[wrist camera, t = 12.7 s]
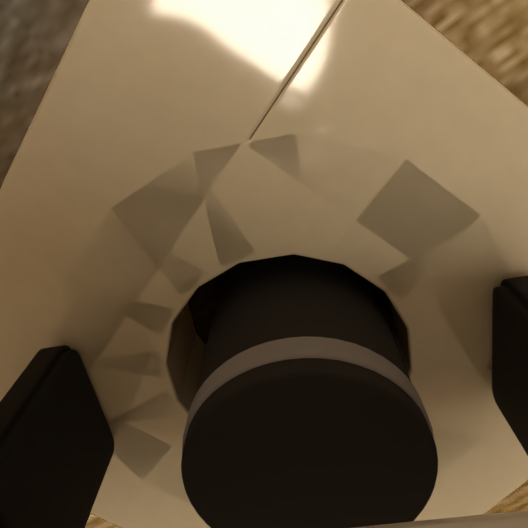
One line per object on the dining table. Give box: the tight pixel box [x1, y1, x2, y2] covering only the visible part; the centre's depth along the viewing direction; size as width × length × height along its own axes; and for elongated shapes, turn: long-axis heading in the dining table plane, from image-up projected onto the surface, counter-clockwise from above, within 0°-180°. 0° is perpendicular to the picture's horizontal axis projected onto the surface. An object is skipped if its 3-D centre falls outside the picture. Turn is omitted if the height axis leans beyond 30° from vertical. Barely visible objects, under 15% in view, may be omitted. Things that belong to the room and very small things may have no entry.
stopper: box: [181, 254, 438, 528], centre depth 11 cm, size 4×4×6 cm
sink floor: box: [0, 0, 528, 528], centre depth 12 cm, size 14×14×3 cm
